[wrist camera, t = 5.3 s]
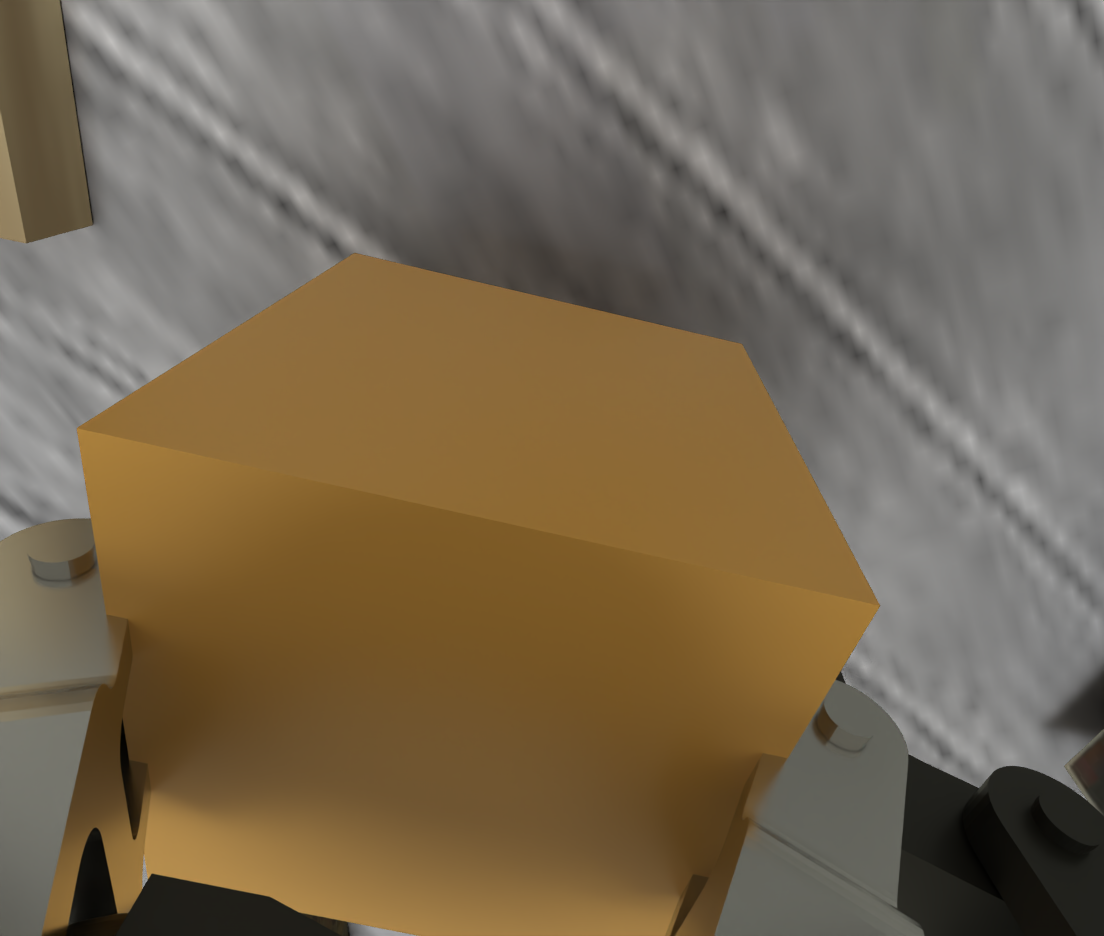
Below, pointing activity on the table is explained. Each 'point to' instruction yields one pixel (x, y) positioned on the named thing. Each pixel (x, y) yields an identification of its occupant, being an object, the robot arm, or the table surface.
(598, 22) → the table surface
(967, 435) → the table surface
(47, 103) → the cream base with peg
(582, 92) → the table surface
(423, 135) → the table surface
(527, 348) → the mustard yellow cube
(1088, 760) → the voltmeter
